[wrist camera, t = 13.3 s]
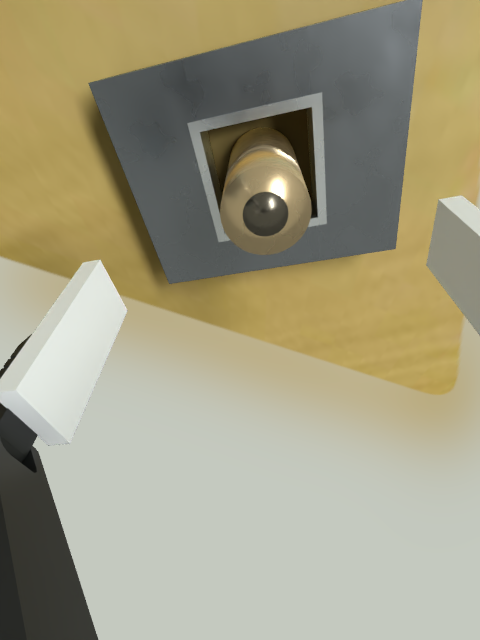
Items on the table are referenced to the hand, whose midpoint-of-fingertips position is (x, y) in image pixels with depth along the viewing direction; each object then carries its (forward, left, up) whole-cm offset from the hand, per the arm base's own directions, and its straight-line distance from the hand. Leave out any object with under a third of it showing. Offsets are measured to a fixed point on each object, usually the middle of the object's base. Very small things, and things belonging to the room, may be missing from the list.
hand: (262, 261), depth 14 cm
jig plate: (0, 0, -14) cm, 14 cm away
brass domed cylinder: (0, 0, -14) cm, 14 cm away
